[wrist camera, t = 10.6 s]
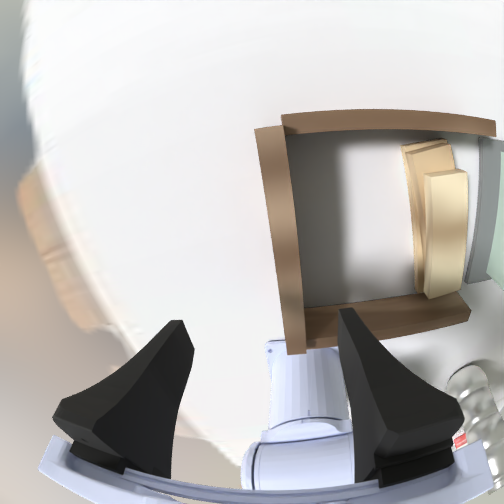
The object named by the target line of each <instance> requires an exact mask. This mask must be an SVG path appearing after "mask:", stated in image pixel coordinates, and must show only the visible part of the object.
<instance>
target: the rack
mask: <svg viewBox="0 0 504 504" xmlns="http://www.w3.org/2000/svg"><path fill="white" fill-rule="evenodd" d="M281 121H282V125H280V126H272V127H265V128H258V129H254V131H255V137H256V143H257V149H258V155H259V161H260V167H261V173H262V179H263V186H264V192H265V198H266V205H267V211H268V218H269V225H270V231H271V238H272V245H273V252H274V259H275V266H276V273H277V280H278V288H279V295H280V303H281V310H282V318H283V326H284V333H285V341H286V350H287V355H298V354H307V350H310V349H320V348H329V347H337V346H338V343H337V337H338V312H339V309H342V308H350V307H352V308H354V310H355V311H356V313H357V314H358V315H359V317H360V318H361V320H362V321H363V322H364V324H365V325H366V326H367V327H368V329H369V330H370V331H371V332H372V334H373V335H374V336H375V337H376V338H377V340H378V341H379V340H385V339H391V338H396V337H402V336H407V335H412V334H416V333H421V332H426V331H430V330H435V329H439V328H443V327H447V326H451V325H455V324H459V323H462V322H466V321H468V319H469V316H470V313H471V310H470V308H469V307H468V306H467V304H466V303H465V302H464V300H463V299H462V298H461V296H460V295H459V294H458V293H457V291H455V292H452V293H448V294H445V295H442V296H439V297H435V298H432V299H428V297H427V296H426V294H425V293H424V292H422V293H417V294H411V295H405V296H398V297H392V298H385V299H378V300H371V301H364V302H356V303H349V304H340V305H332V306H323V307H313V308H304V303H303V290H302V278H301V267H300V256H299V246H298V236H297V227H296V218H295V209H294V201H293V193H292V185H291V177H290V170H289V162H288V155H287V148H286V142H285V135H293V134H303V133H313V132H326V131H342V130H366V129H411V130H434V131H449V132H460V133H470V134H478V135H486V136H493V137H496V122H495V120H489V119H484V118H478V117H472V116H465V115H458V114H450V113H441V112H430V111H416V110H394V109H352V110H330V111H315V112H303V113H293V114H284V115H281Z"/></svg>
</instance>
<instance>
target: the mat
mask: <svg viewBox="0 0 504 504" xmlns="http://www.w3.org/2000/svg"><path fill="white" fill-rule="evenodd" d="M501 152H504V141H502V140H495V139H488V138H480V137H479V189H478V203H477V213H476V221H475V229H474V236H473V242H472V248H471V254H470V259H469V264H468V268H467V273H466V277H465V282H466V283H467V284H472V283H476V282H481V281H485V280H489V279H492V278H491V277H490V276H489V275H488V274H487V273H486V271H487V267H488V262H489V258H490V253H491V248H492V243H493V238H494V232H495V225H496V218H497V210H498V201H499V190H500V172H501Z"/></svg>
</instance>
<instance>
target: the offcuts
mask: <svg viewBox="0 0 504 504" xmlns="http://www.w3.org/2000/svg"><path fill="white" fill-rule="evenodd" d="M400 146H401V151H402V156H403V162H404V167H405V173H406V179H407V186H408V193H409V201H410V209H411V219H412V231H413V246H414V274H415V290H416V292H417V293H421V292H424V293H425V294H426V296H427V297H428V299H432V298H435V297H439V296H442V295H445V294H448V293H452V292H455V291H458V290H461V284H462V277H463V270H464V261H465V252H466V240H467V222H468V180H467V172H466V171H463V170H461V169H455V165H454V159H453V154H452V149H451V144H448V143H447V139H443V138H440V139H433V140H427V141H421V142H416V143H410V144H405V145H400Z"/></svg>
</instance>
